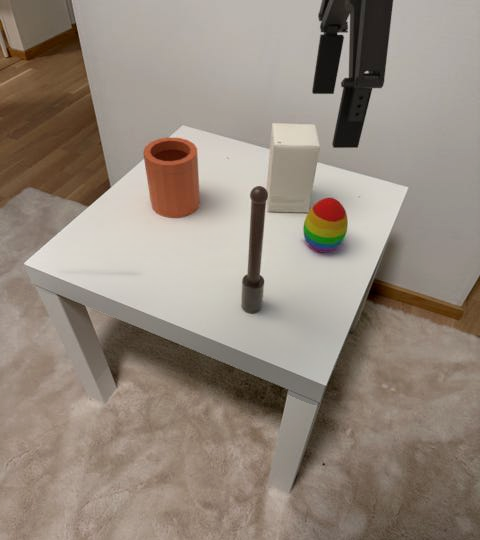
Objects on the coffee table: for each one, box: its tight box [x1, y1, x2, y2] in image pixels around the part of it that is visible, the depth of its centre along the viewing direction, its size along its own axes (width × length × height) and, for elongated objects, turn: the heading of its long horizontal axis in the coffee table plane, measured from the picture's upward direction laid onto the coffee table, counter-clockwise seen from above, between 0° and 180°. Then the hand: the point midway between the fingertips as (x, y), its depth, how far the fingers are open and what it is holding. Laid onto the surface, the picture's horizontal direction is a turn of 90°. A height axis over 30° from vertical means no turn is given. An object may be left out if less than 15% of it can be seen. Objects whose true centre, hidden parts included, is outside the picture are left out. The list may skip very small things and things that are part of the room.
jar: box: [142, 136, 201, 219], centre depth 90 cm, size 10×10×12 cm
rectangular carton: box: [266, 122, 321, 214], centre depth 90 cm, size 9×9×15 cm
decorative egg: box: [302, 197, 349, 253], centre depth 83 cm, size 8×8×10 cm
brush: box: [240, 185, 268, 314], centre depth 67 cm, size 4×4×23 cm
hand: (332, 117), depth 53 cm, fingers open, 13 cm apart
